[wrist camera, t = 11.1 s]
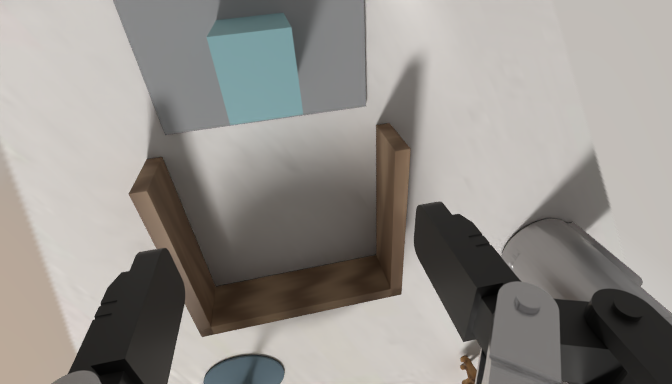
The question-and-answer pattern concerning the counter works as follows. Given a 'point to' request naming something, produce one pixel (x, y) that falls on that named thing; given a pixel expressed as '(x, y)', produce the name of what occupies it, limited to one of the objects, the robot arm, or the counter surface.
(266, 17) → the teal block
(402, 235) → the open-front crate
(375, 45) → the counter surface
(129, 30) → the rubber mat
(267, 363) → the cocktail glass
